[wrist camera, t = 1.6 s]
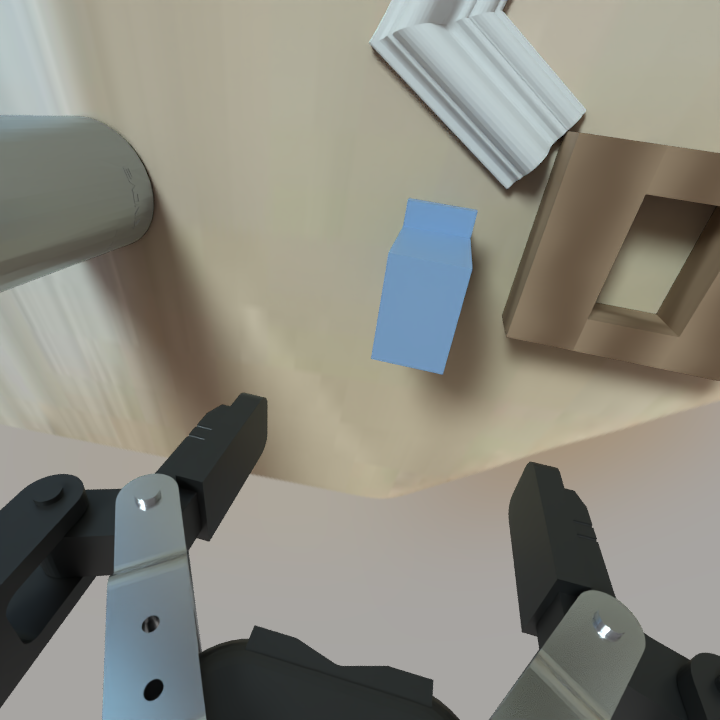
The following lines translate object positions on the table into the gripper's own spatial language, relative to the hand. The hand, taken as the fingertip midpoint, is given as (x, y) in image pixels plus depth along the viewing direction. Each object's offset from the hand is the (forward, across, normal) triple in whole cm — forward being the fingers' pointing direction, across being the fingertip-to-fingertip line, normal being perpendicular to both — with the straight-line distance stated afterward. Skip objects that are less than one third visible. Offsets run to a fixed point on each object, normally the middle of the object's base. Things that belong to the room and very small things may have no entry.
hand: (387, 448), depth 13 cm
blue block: (+20, 0, 0) cm, 20 cm away
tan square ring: (+20, -13, -3) cm, 24 cm away
